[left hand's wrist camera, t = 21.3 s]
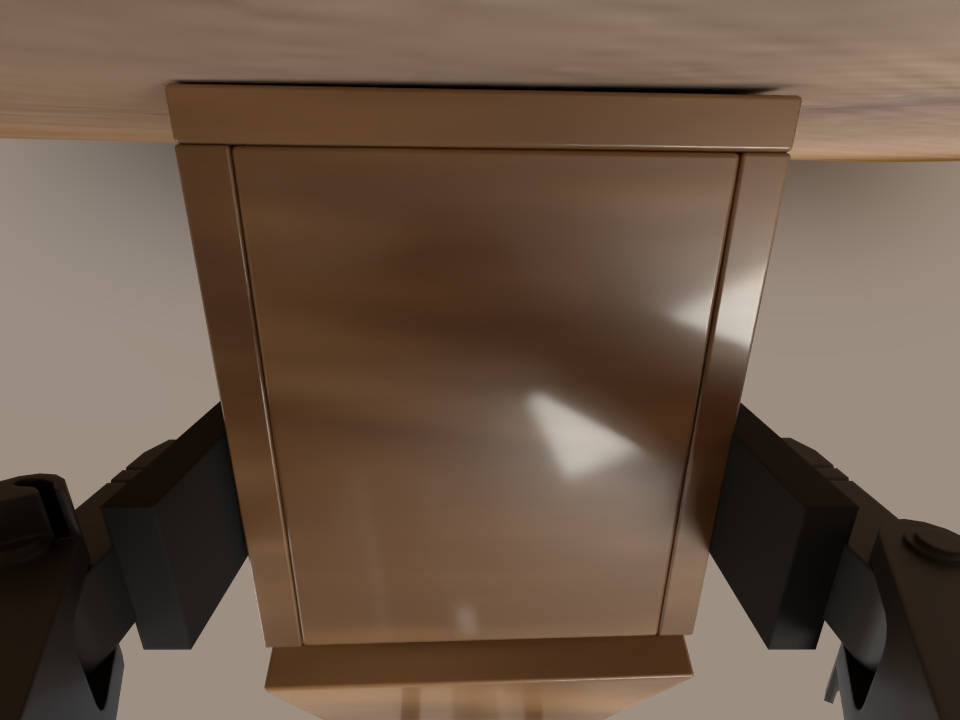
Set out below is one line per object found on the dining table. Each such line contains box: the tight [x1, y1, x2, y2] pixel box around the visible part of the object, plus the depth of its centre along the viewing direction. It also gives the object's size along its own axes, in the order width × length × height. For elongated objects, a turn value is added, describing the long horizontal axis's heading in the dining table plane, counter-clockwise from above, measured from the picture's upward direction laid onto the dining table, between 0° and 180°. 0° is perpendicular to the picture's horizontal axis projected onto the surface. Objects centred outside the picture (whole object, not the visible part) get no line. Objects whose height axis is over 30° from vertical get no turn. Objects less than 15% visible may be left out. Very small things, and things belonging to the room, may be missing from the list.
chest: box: [165, 83, 802, 647], centre depth 15 cm, size 13×9×10 cm
